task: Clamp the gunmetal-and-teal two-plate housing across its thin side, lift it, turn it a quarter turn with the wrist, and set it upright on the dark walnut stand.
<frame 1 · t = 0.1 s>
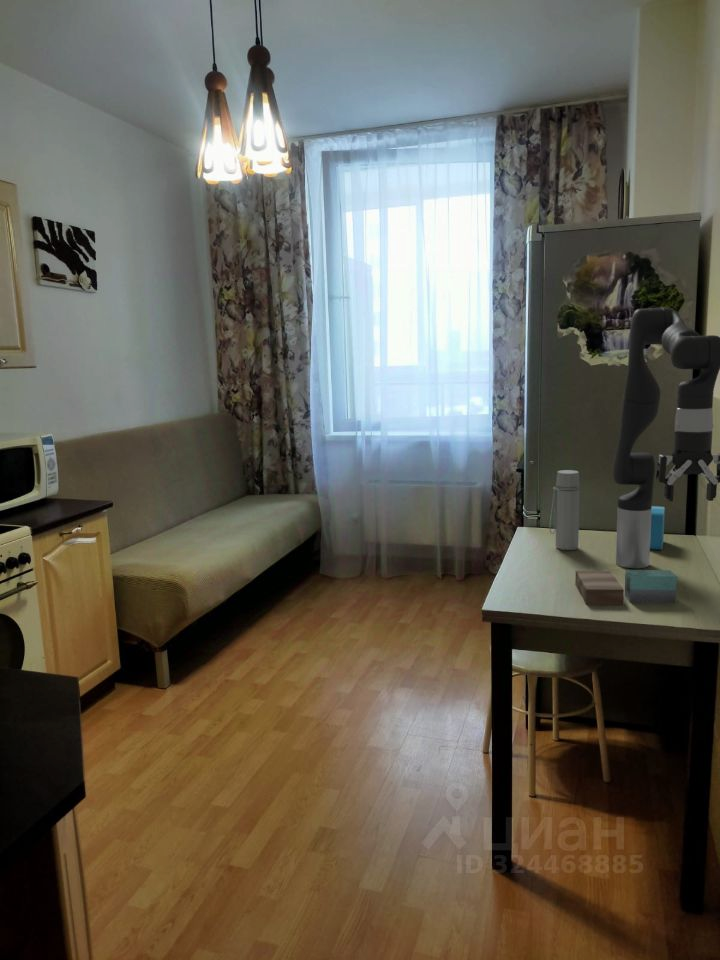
hand: (689, 500, 152), 29 cm above the table, fingers open, 8 cm apart
water bottle: (563, 548, 220), on the table
housing: (649, 599, 173), on the table
walnut stand: (598, 594, 178), on the table
data package: (655, 546, 219), on the table
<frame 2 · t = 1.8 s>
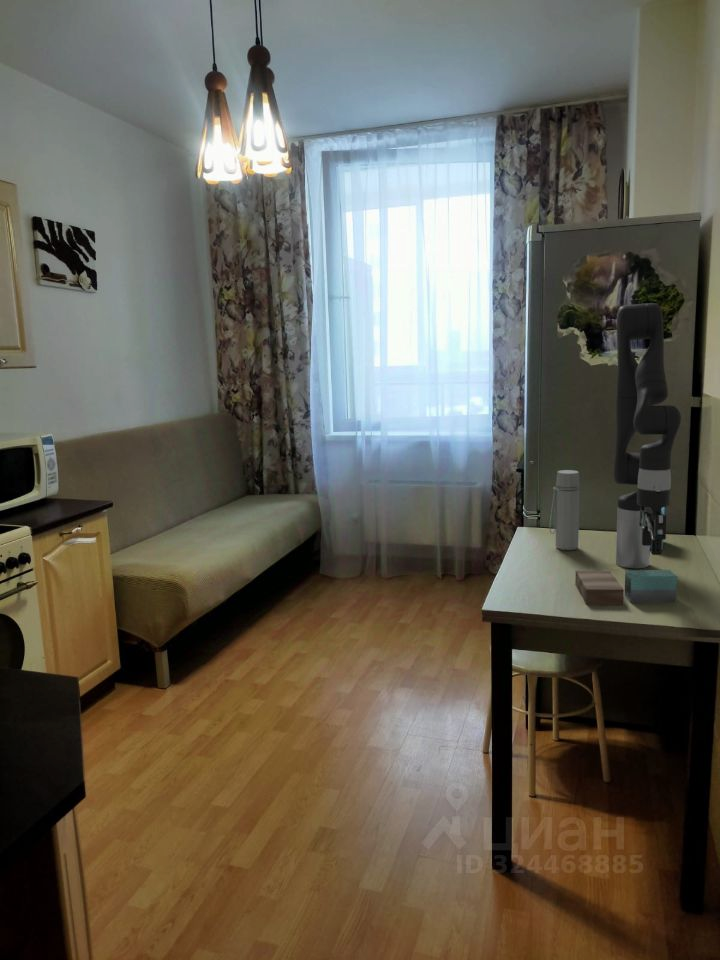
hand: (651, 549, 171), 13 cm above the table, fingers open, 8 cm apart
nothing on the table moved.
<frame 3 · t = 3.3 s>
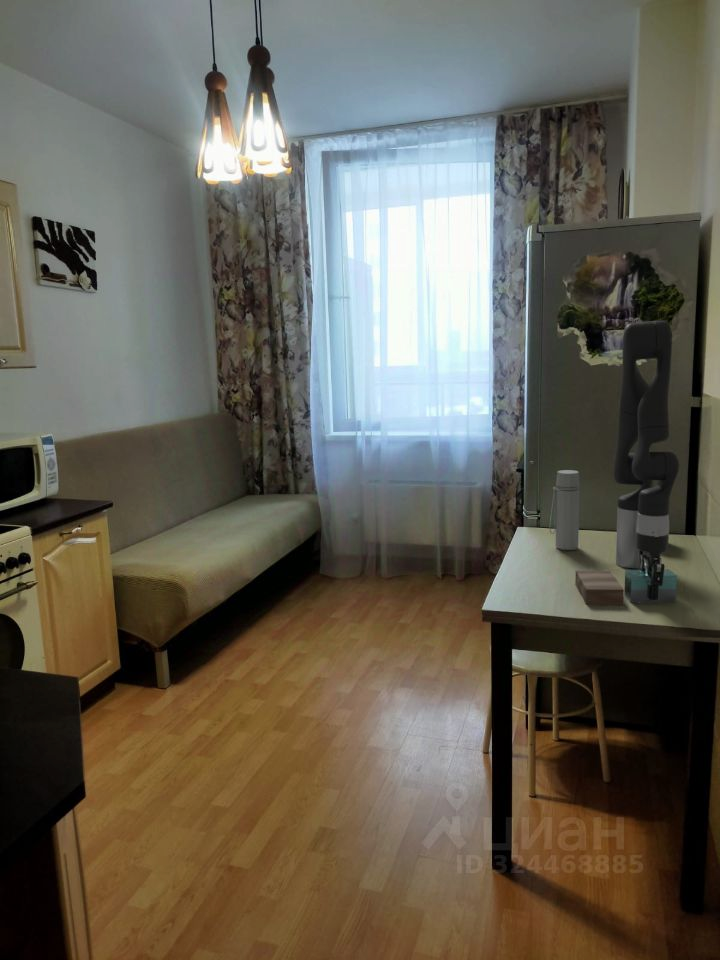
hand: (649, 595, 173), 1 cm above the table, fingers closed on housing, 5 cm apart
housing: (649, 599, 173), on the table, touching gripper
everything else where it was.
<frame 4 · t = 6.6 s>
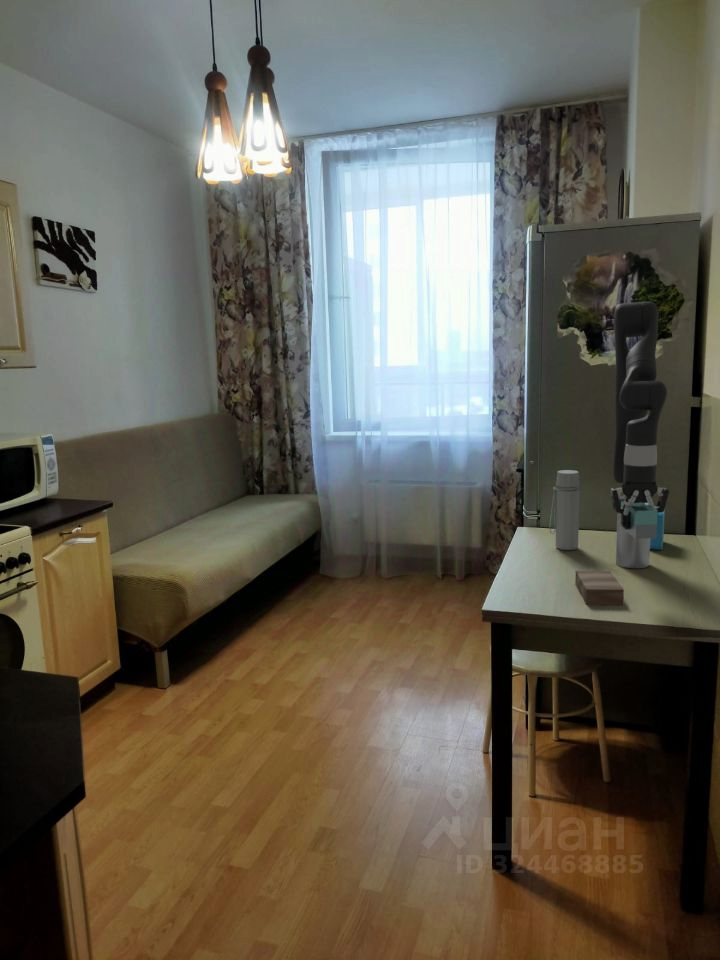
hand: (637, 528, 171), 18 cm above the table, fingers closed on housing, 5 cm apart
housing: (637, 532, 172), point 17 cm above the table, touching gripper
everything else where it was.
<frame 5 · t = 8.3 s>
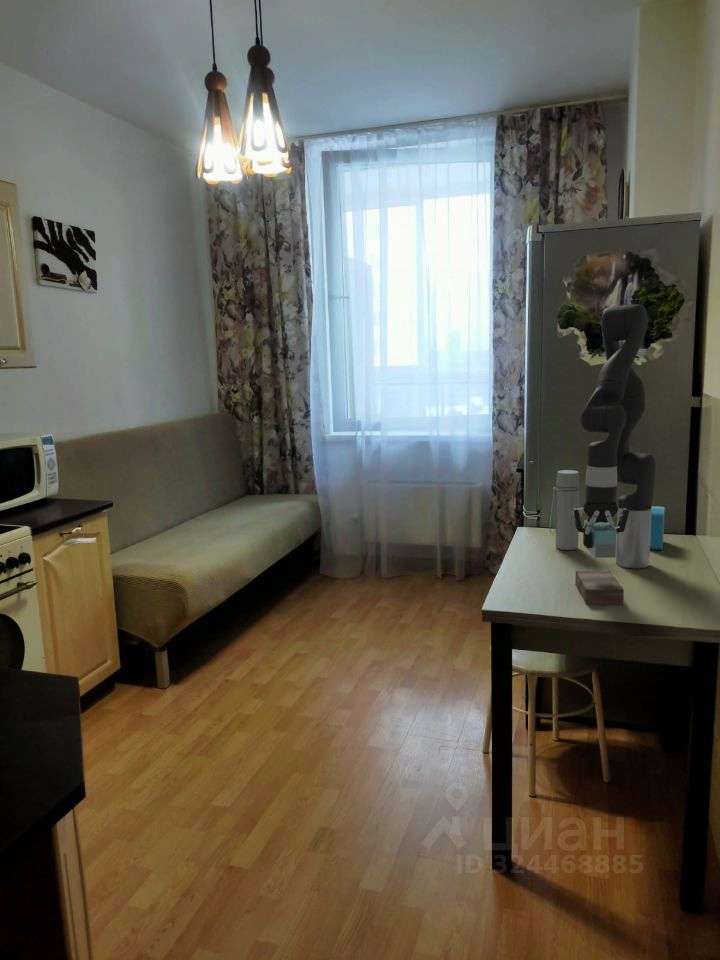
hand: (599, 547, 176), 13 cm above the table, fingers closed on housing, 5 cm apart
housing: (599, 551, 176), point 12 cm above the table, touching gripper
everything else where it was.
when the fingers open (6 cm above the table, at t = 9.9 s): housing drops 1 cm, resting on walnut stand.
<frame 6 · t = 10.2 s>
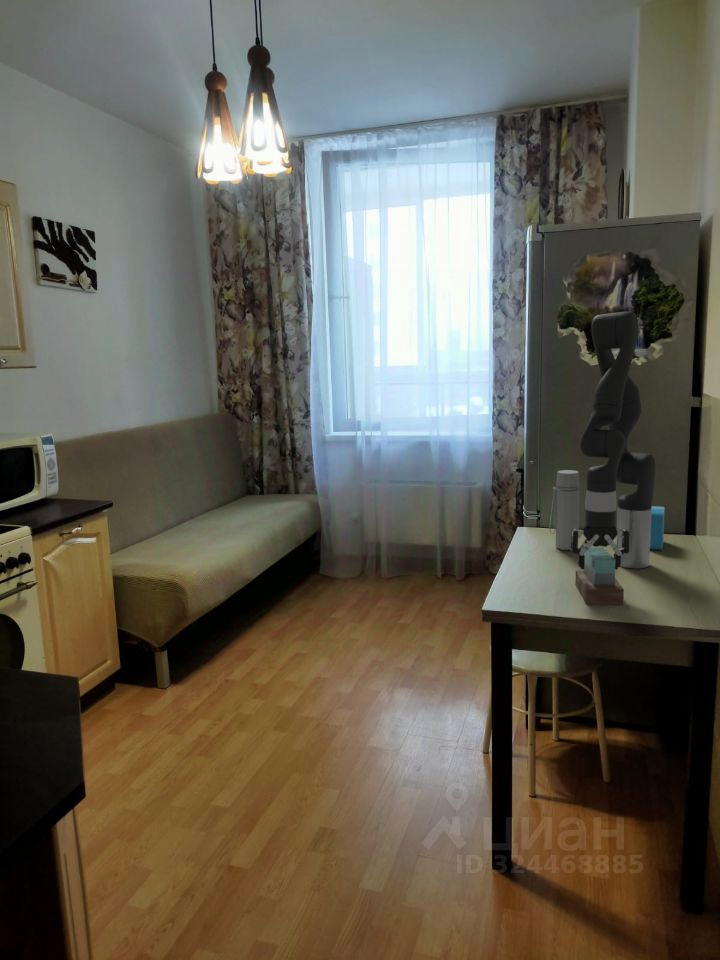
hand: (598, 568, 177), 7 cm above the table, fingers open, 8 cm apart
housing: (598, 579, 177), point 4 cm above the table, touching walnut stand
everything else where it was.
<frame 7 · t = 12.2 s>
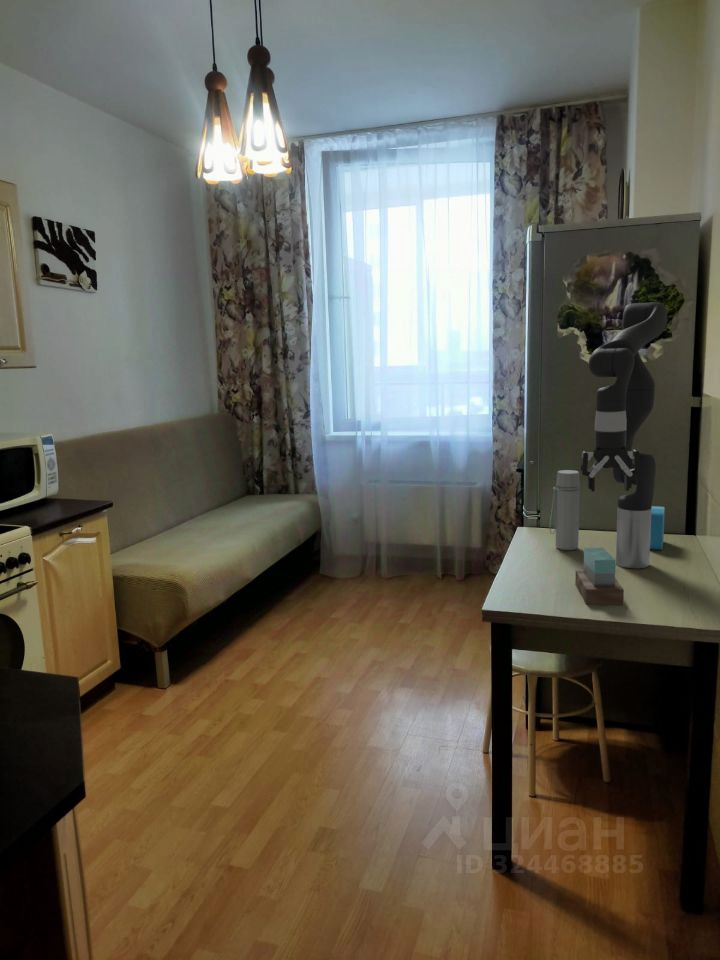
hand: (609, 490, 176), 27 cm above the table, fingers open, 8 cm apart
nothing on the table moved.
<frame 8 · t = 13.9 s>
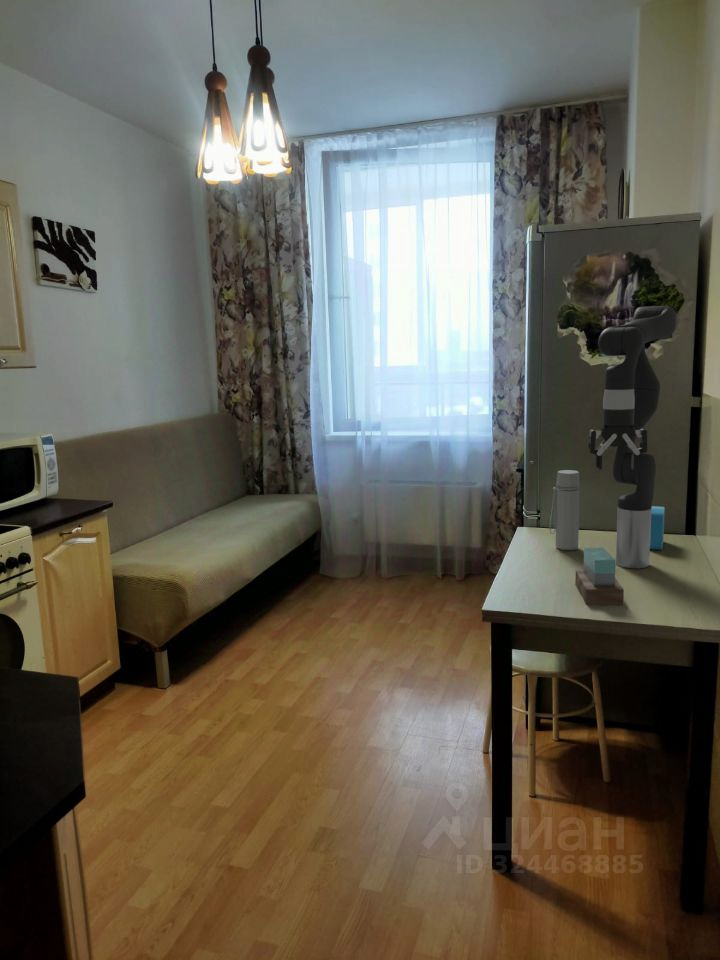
hand: (616, 469, 177), 32 cm above the table, fingers open, 8 cm apart
nothing on the table moved.
at the end: housing 0.0 cm off-centre on the walnut stand, point 4.0 cm above the walnut stand's base; housing tilted 0°; the gripper is holding nothing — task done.
